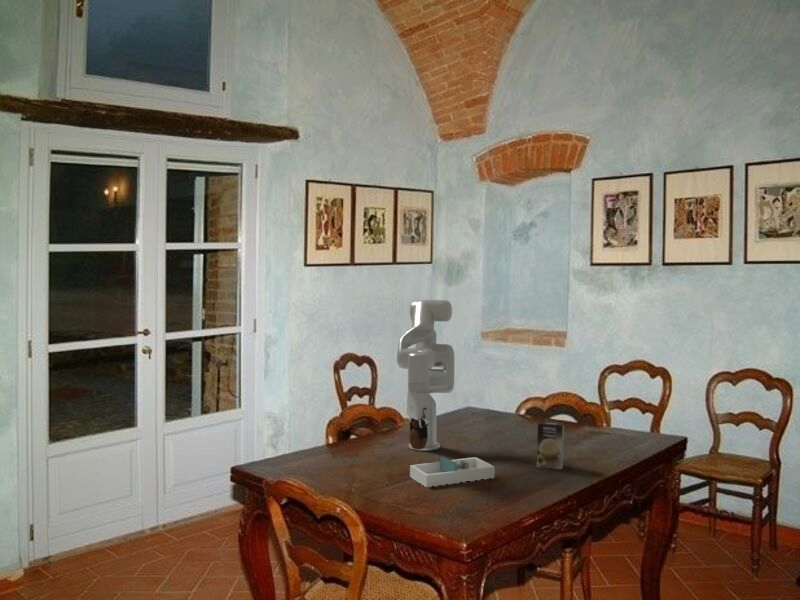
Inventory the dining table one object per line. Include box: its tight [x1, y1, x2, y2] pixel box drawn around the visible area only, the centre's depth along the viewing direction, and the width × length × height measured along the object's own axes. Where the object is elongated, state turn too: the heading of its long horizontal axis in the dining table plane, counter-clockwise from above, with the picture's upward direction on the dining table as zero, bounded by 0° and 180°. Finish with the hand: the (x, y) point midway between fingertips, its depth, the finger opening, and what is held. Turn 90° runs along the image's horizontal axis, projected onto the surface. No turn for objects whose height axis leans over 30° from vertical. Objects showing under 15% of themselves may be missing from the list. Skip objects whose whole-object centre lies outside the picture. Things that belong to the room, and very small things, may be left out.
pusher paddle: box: [439, 455, 469, 472], centre depth 242 cm, size 10×7×5 cm
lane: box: [409, 456, 496, 488], centre depth 242 cm, size 13×26×4 cm, turn 114°
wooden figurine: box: [408, 417, 428, 450], centre depth 253 cm, size 7×6×15 cm
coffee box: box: [536, 419, 565, 470], centre depth 255 cm, size 9×6×16 cm
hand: (418, 435), depth 253 cm, fingers closed on wooden figurine, 6 cm apart
